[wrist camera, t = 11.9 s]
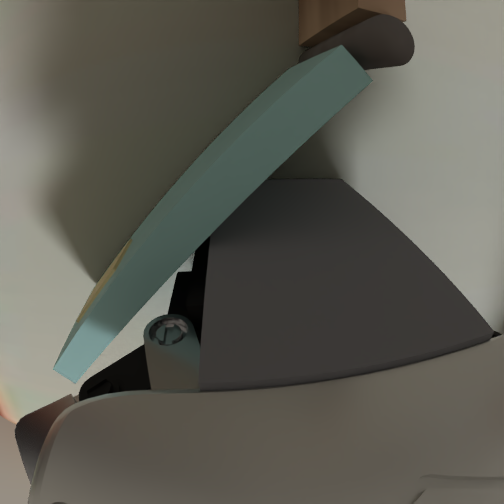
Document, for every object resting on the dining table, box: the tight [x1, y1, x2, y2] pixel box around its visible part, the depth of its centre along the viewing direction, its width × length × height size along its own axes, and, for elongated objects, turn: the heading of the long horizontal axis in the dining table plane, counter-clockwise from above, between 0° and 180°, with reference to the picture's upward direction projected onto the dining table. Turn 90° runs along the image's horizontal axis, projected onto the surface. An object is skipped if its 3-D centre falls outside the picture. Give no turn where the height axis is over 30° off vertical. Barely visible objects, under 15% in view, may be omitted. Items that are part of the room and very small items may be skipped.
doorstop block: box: [198, 179, 494, 391], centre depth 9 cm, size 6×5×9 cm
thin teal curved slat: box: [53, 45, 373, 383], centre depth 9 cm, size 13×1×5 cm, turn 135°
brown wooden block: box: [298, 0, 414, 70], centre depth 10 cm, size 25×1×6 cm, turn 0°
